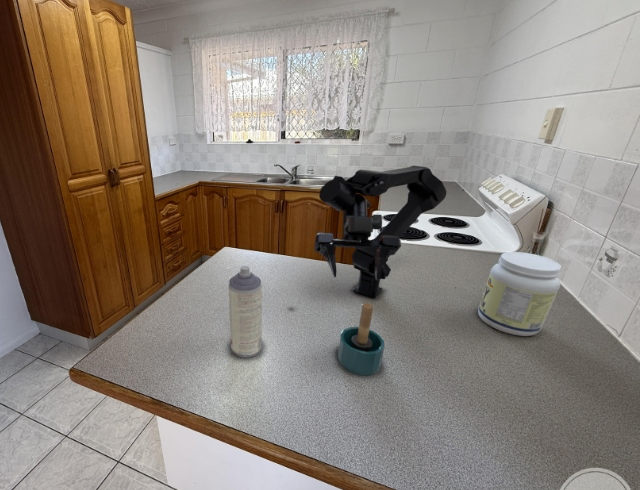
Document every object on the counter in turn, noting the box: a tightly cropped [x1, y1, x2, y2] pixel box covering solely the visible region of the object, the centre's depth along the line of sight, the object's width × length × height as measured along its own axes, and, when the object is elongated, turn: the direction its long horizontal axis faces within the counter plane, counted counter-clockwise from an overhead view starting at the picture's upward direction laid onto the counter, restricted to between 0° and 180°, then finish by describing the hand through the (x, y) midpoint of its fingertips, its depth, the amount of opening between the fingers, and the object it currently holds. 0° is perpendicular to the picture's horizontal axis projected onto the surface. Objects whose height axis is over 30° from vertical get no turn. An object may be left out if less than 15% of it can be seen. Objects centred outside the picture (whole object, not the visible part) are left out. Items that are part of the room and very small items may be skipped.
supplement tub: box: [477, 251, 562, 337], centre depth 74 cm, size 12×12×17 cm
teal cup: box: [337, 326, 385, 376], centre depth 65 cm, size 8×8×6 cm
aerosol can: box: [228, 265, 263, 359], centre depth 66 cm, size 7×7×20 cm
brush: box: [351, 302, 374, 352], centre depth 63 cm, size 4×4×13 cm
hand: (356, 278), depth 71 cm, fingers open, 9 cm apart
